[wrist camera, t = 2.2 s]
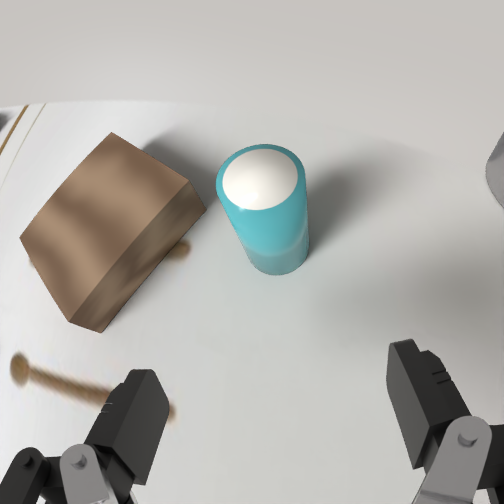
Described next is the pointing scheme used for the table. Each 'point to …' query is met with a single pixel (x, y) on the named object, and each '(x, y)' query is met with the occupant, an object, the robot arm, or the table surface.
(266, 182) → the tumbler
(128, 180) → the wooden square base
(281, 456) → the table surface
